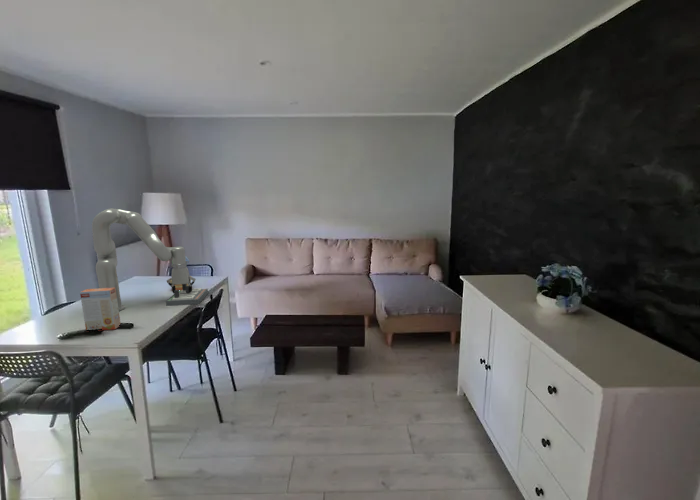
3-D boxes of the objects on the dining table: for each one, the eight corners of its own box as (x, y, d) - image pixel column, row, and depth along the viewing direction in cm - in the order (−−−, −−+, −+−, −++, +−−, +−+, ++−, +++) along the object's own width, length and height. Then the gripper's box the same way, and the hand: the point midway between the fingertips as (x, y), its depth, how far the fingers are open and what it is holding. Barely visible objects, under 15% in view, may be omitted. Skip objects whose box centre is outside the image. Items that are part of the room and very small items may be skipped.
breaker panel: (198, 303, 217) (197, 290, 216) (166, 306, 215) (164, 292, 213) (208, 293, 240) (206, 281, 238) (178, 294, 237) (177, 282, 236)
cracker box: (121, 325, 185) (116, 286, 181) (115, 330, 179) (109, 290, 175) (92, 327, 184) (86, 288, 180) (85, 331, 178) (79, 291, 174)
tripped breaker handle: (189, 292, 226) (188, 286, 225) (186, 293, 225) (185, 287, 225) (190, 291, 228) (189, 285, 227) (187, 292, 228) (186, 286, 227)
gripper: (163, 268, 218) (166, 294, 221) (192, 266, 221) (195, 293, 224) (167, 265, 225) (170, 291, 228) (195, 264, 228) (198, 289, 231)
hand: (182, 292), depth 226 cm, fingers open, 9 cm apart
